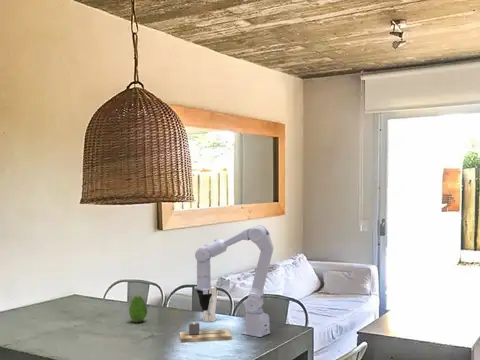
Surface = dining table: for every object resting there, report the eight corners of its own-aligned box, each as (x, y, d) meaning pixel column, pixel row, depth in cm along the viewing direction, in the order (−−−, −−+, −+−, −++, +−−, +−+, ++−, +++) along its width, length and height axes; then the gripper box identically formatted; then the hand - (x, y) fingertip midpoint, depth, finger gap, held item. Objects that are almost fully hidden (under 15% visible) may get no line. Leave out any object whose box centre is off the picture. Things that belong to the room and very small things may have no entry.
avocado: (126, 323, 243) (126, 296, 244) (133, 319, 251) (133, 293, 251) (143, 324, 242) (142, 297, 242) (150, 320, 249) (149, 294, 249)
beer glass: (198, 321, 247) (198, 287, 247) (206, 317, 253) (206, 285, 253) (212, 322, 243) (211, 289, 244) (219, 319, 250) (219, 286, 250)
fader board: (228, 333, 225) (228, 329, 225) (231, 339, 215) (231, 335, 215) (179, 335, 222) (179, 331, 222) (180, 342, 212) (180, 338, 212)
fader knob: (198, 332, 220) (198, 322, 220) (199, 334, 217) (199, 323, 217) (188, 333, 219) (188, 322, 219) (189, 334, 216) (189, 324, 216)
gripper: (192, 273, 236) (193, 305, 236) (195, 279, 222) (196, 312, 222) (209, 273, 237) (209, 304, 237) (213, 278, 223) (213, 311, 223)
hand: (204, 308), depth 229 cm, fingers open, 7 cm apart
